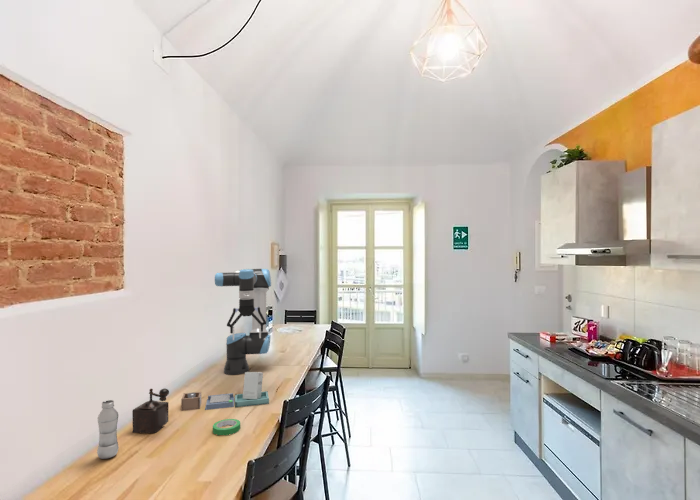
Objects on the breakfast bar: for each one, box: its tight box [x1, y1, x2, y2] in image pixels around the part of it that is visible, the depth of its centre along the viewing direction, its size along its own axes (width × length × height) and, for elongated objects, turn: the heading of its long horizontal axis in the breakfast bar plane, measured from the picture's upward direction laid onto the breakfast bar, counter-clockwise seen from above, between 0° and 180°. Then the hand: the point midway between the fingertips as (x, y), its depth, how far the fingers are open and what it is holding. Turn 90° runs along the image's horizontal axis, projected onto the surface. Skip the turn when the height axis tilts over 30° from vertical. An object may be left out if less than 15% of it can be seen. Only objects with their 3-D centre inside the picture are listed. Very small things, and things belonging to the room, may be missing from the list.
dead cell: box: [187, 392, 196, 398], centre depth 189 cm, size 4×4×6 cm
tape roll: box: [212, 418, 241, 436], centre depth 165 cm, size 11×11×3 cm
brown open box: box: [180, 391, 202, 411], centre depth 189 cm, size 8×8×6 cm
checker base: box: [204, 392, 235, 411], centre depth 192 cm, size 13×13×4 cm
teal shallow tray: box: [234, 390, 270, 409], centre depth 196 cm, size 11×16×2 cm
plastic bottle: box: [96, 399, 119, 460], centre depth 144 cm, size 6×7×20 cm
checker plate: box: [210, 393, 230, 404], centre depth 192 cm, size 9×9×1 cm
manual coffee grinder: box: [131, 388, 170, 434], centre depth 167 cm, size 16×11×18 cm
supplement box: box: [242, 371, 264, 399], centre depth 197 cm, size 7×7×13 cm
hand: (246, 338), depth 208 cm, fingers open, 13 cm apart
